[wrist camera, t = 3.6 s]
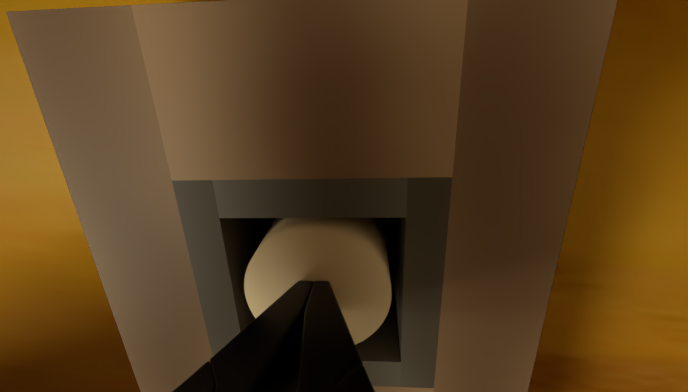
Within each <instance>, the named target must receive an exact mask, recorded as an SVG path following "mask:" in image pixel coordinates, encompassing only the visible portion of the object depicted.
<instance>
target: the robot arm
mask: <svg viewBox="0 0 688 392" xmlns="http://www.w3.org/2000/svg"><path fill="white" fill-rule="evenodd" d="M172 392H375V391H374V388H373V386H372V384H371V382H370V380H369V377H368V375H367V372H366V370H365V367H364V366H363V363H362V360H361V358H360V355H359V353H358V351H357V348H356V346H355V343H354V341H353V338H352V336H351V333H350V331H349V328H348V326H347V323H346V321H345V319H344V316H343V314H342V311H341V309H340V306H339V304H338V301H337V299H336V296H335V294H334V291H333V289H332V287H331V284H330V282H329V281H314V282H313V281H308V280H300V281H298V282H296V283H295V284H294V285H293V286H292V287H291V288H289V289H288V290H287V291H286V292H285V293H284V294H283V295H282V296H280V297H279V298H278V299H277V300H276V301H275V302H274V303H273V304H271V305H270V306H269V307H268V308H267V309H266V310H265V311H264V312H262V313H261V314H260V315H259V316H258V317H257V318H256V319H255V320H253V321H252V322H251V323H250V324H249V325H248V326H247V327H246V328H244V329H243V330H242V331H241V332H240V333H239V334H238V335H236V336H235V337H234V338H233V339H232V340H231V341H230V342H229V343H227V344H226V345H225V346H224V347H223V348H222V349H221V350H220V351H218V352H217V353H216V354H215V355H214V356H213V357H212V358H211V359H210V362H209V361H207V362H206V363H205V364H204V365H202V366H201V367H200V368H199V369H198V370H197V371H196V372H195V373H193V374H192V375H191V376H190V377H189V378H188V379H186V380H185V381H184V382H183V383H182V384H180V385H179V386H178V387H177V388H176V389H175V390H173V391H172Z"/></svg>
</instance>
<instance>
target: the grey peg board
mask: <svg viewBox="0 0 688 392" xmlns="http://www.w3.org/2000/svg"><path fill="white" fill-rule="evenodd" d="M617 1H618V0H224V1H204V2H185V3H165V4H146V5H126V6H107V7H87V8H68V9H48V10H29V11H9V12H6V13H7V16H8V19H9V22H10V24H11V27H12V30H13V33H14V36H15V39H16V41H17V44H18V47H19V50H20V53H21V55H22V58H23V61H24V64H25V67H26V70H27V72H28V75H29V78H30V81H31V84H32V87H33V89H34V92H35V95H36V98H37V101H38V104H39V106H40V109H41V112H42V115H43V118H44V120H45V123H46V126H47V129H48V132H49V135H50V137H51V140H52V143H53V146H54V149H55V152H56V154H57V157H58V160H59V163H60V166H61V169H62V171H63V174H64V177H65V180H66V183H67V185H68V188H69V191H70V194H71V197H72V200H73V202H74V205H75V208H76V211H77V214H78V217H79V219H80V222H81V225H82V228H83V231H84V234H85V236H86V239H87V242H88V245H89V248H90V250H91V253H92V256H93V259H94V262H95V265H96V267H97V270H98V273H99V276H100V279H101V282H102V284H103V287H104V290H105V293H106V296H107V299H108V301H109V304H110V307H111V310H112V313H113V315H114V318H115V321H116V324H117V327H118V330H119V332H120V335H121V338H122V341H123V344H124V347H125V349H126V352H127V355H128V358H129V361H130V364H131V366H132V369H133V372H134V375H135V378H136V380H137V383H138V386H139V389H140V392H172V391H173V390H175V389H176V388H177V387H178V386H179V385H180V384H182V383H183V382H184V381H185V380H186V379H188V378H189V377H190V376H191V375H192V374H193V373H195V372H196V371H197V370H198V369H199V368H200V367H201V366H202V365H204V364H205V363H206V362H207V361H209V362H210V359H211V358H212V357H213V356H214V355H215V354H216V353H217V352H218V351H220V350H221V349H222V348H223V347H224V346H225V345H226V344H227V343H229V342H230V341H231V340H232V339H233V338H234V337H235V336H236V335H238V334H239V333H240V332H241V331H242V330H243V329H244V328H246V327H247V326H248V325H249V324H250V323H251V322H252V321H253V320H255V319H256V318H255V317H254V315H253V314H252V312H251V310H250V308H249V306H248V303H247V300H246V296H245V291H244V278H245V273H246V269H247V267H248V264H249V262H250V260H251V259H252V257H253V255H254V254H255V252H256V250H257V248H258V247H259V245H260V243H261V242H262V240H263V238H264V237H265V235H266V233H267V232H268V230H269V228H270V227H271V225H272V223H273V221H274V220H275V218H391V230H390V266H389V271H390V281H391V292H392V297H391V305H390V309H389V312H388V314H387V316H386V318H385V320H384V322H383V323H382V325H381V326H380V327H379V328H378V329H377V330H376V331H375V332H374V333H373V334H372V335H371V336H370V337H368V338H367V339H365V340H364V341H362V342H360V343H358V344H356V345H355V346H356V348H357V351H358V353H359V355H360V358H361V360H362V363H363V366H364V367H365V370H366V372H367V375H368V377H369V380H370V382H371V384H372V386H373V388H374V391H375V392H528V389H529V384H530V380H531V375H532V371H533V367H534V362H535V358H536V354H537V349H538V345H539V341H540V336H541V332H542V328H543V323H544V319H545V315H546V310H547V306H548V301H549V297H550V293H551V288H552V284H553V280H554V275H555V271H556V267H557V262H558V258H559V254H560V249H561V245H562V241H563V236H564V232H565V228H566V223H567V219H568V214H569V210H570V206H571V201H572V197H573V193H574V188H575V184H576V180H577V175H578V171H579V167H580V162H581V158H582V154H583V149H584V145H585V140H586V136H587V132H588V127H589V123H590V119H591V114H592V110H593V106H594V101H595V97H596V93H597V88H598V84H599V80H600V75H601V71H602V66H603V62H604V58H605V53H606V49H607V45H608V40H609V36H610V32H611V27H612V23H613V19H614V14H615V10H616V6H617Z"/></svg>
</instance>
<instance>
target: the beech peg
mask: <svg viewBox="0 0 688 392" xmlns="http://www.w3.org/2000/svg"><path fill="white" fill-rule="evenodd" d="M300 280H308V281H313V282H314V281H329V282H330V284H331V287H332V289H333V291H334V294H335V296H336V299H337V301H338V304H339V306H340V309H341V311H342V314H343V316H344V319H345V321H346V323H347V326H348V328H349V331H350V333H351V336H352V338H353V341H354V343H355V345H356V344H358V343H360V342H362V341H364V340H365V339H367V338H368V337H370V336H371V335H372V334H373V333H374V332H375V331H376V330H377V329H378V328H379V327H380V326H381V325H382V323H383V322H384V320H385V318H386V316H387V314H388V312H389V309H390V305H391V297H392V292H391V281H390V271H389V262H388V253H387V244H386V235H385V226H384V218H275V220H274V221H273V223H272V225H271V227H270V228H269V230H268V232H267V233H266V235H265V237H264V238H263V240H262V242H261V243H260V245H259V247H258V248H257V250H256V252H255V254H254V255H253V257H252V259H251V260H250V262H249V264H248V267H247V269H246V273H245V278H244V291H245V296H246V300H247V303H248V306H249V308H250V310H251V312H252V314H253V315H254V317H255V318H257V317H258V316H259V315H260V314H261V313H262V312H264V311H265V310H266V309H267V308H268V307H269V306H270V305H271V304H273V303H274V302H275V301H276V300H277V299H278V298H279V297H280V296H282V295H283V294H284V293H285V292H286V291H287V290H288V289H289V288H291V287H292V286H293V285H294V284H295V283H296V282H298V281H300Z"/></svg>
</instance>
